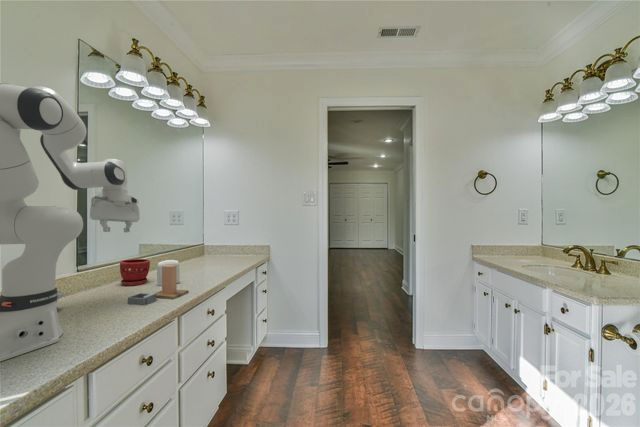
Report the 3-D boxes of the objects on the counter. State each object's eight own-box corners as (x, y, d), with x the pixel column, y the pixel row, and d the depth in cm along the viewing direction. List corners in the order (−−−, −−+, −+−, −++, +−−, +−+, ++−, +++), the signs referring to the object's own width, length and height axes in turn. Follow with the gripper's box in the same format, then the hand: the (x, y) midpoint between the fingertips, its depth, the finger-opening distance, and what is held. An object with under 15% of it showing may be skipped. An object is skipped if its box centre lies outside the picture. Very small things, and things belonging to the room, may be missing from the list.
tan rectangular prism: (172, 294, 130) (171, 266, 129) (162, 293, 131) (161, 266, 130) (176, 292, 133) (176, 265, 132) (166, 291, 133) (166, 265, 133)
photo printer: (157, 286, 146) (157, 261, 146) (156, 284, 150) (156, 260, 149) (180, 283, 152) (180, 259, 152) (178, 281, 156) (178, 258, 156)
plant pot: (127, 288, 144) (127, 263, 143) (115, 284, 151) (115, 261, 151) (154, 282, 154) (154, 259, 154) (142, 279, 162) (141, 257, 162)
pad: (173, 299, 125) (173, 296, 125) (149, 297, 128) (149, 295, 128) (188, 292, 135) (188, 290, 135) (165, 291, 138) (165, 289, 138)
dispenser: (145, 305, 117) (145, 296, 117) (126, 303, 119) (126, 295, 119) (157, 300, 124) (157, 291, 124) (139, 299, 126) (139, 290, 126)
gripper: (98, 193, 111) (100, 230, 110) (141, 200, 131) (143, 231, 130) (84, 196, 112) (86, 232, 111) (129, 202, 132) (131, 233, 131)
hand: (117, 232), depth 120 cm, fingers open, 8 cm apart
